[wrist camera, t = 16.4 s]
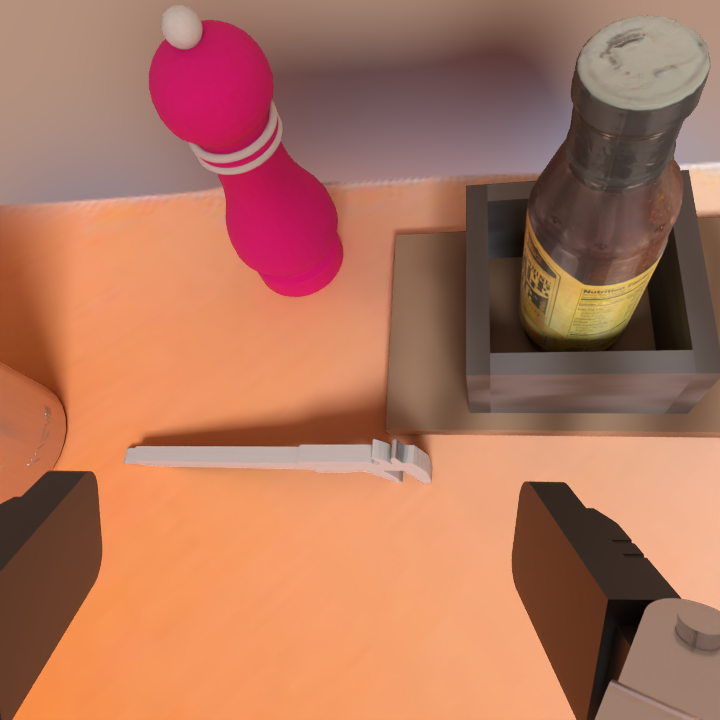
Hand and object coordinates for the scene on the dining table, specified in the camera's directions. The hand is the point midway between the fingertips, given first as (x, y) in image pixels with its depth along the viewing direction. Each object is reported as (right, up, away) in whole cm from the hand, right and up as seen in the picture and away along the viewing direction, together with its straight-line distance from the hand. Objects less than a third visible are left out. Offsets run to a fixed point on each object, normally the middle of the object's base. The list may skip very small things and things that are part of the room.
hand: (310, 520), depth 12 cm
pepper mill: (-3, +10, +33) cm, 35 cm away
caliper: (-5, -4, +27) cm, 28 cm away
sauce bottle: (+14, +5, +26) cm, 30 cm away
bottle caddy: (+14, +5, +27) cm, 31 cm away
